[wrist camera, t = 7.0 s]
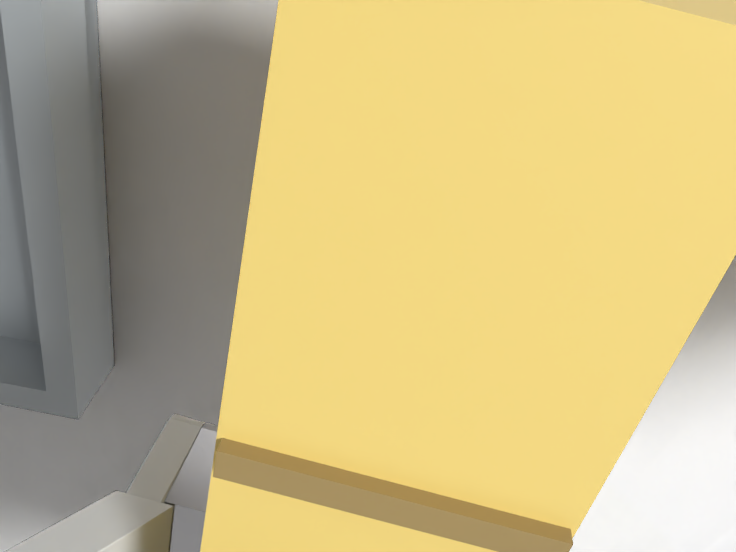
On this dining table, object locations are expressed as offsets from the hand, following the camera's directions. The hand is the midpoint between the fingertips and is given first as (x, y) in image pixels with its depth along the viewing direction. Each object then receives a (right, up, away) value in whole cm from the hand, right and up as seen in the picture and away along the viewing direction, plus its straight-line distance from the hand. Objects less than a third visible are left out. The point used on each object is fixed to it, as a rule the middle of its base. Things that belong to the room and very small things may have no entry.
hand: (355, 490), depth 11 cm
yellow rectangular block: (+1, +3, 0) cm, 3 cm away
